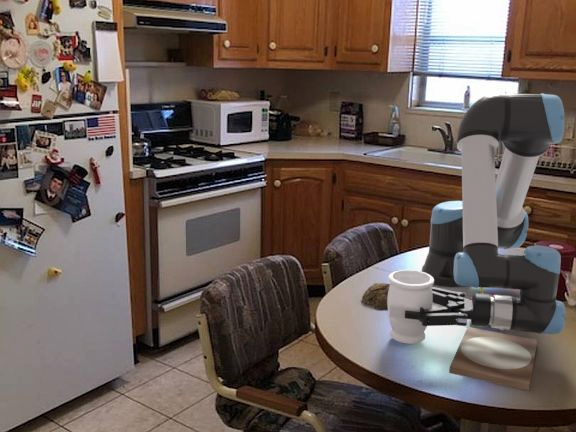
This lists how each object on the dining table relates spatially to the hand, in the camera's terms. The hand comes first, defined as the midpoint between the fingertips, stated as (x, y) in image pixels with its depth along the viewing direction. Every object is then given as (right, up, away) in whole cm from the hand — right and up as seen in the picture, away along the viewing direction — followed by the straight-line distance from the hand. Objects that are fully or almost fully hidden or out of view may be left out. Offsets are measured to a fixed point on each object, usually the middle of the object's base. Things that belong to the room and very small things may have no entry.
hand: (391, 301), depth 145 cm
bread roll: (+2, -4, +25) cm, 26 cm away
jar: (+4, -9, +1) cm, 10 cm away
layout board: (+22, -12, -6) cm, 26 cm away
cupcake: (+26, -7, +13) cm, 30 cm away
